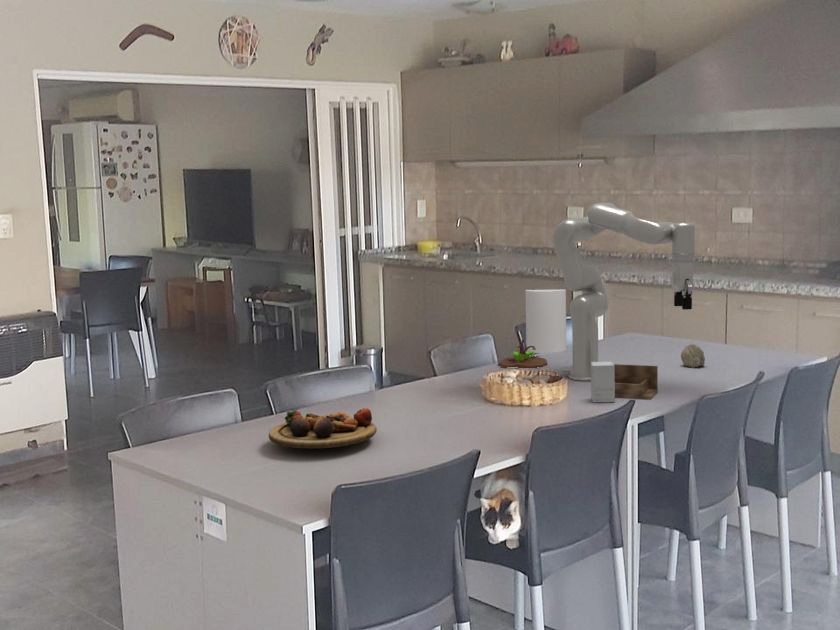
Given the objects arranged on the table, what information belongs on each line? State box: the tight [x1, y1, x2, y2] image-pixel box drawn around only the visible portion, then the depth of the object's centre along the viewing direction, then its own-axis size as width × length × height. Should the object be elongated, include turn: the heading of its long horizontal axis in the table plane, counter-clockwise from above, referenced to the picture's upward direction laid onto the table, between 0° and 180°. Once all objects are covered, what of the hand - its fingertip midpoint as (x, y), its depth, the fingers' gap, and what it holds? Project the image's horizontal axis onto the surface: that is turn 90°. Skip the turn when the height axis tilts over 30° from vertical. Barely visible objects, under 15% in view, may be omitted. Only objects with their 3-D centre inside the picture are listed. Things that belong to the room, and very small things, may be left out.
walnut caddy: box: [613, 363, 659, 400], centre depth 337 cm, size 18×13×9 cm
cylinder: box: [525, 289, 567, 354], centre depth 426 cm, size 17×17×28 cm
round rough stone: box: [680, 343, 706, 369], centre depth 380 cm, size 9×8×10 cm
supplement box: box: [590, 361, 616, 403], centre depth 328 cm, size 7×7×13 cm
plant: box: [497, 338, 548, 369], centre depth 398 cm, size 20×20×11 cm
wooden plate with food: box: [268, 407, 377, 449], centre depth 292 cm, size 32×32×8 cm
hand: (682, 307), depth 341 cm, fingers open, 9 cm apart
